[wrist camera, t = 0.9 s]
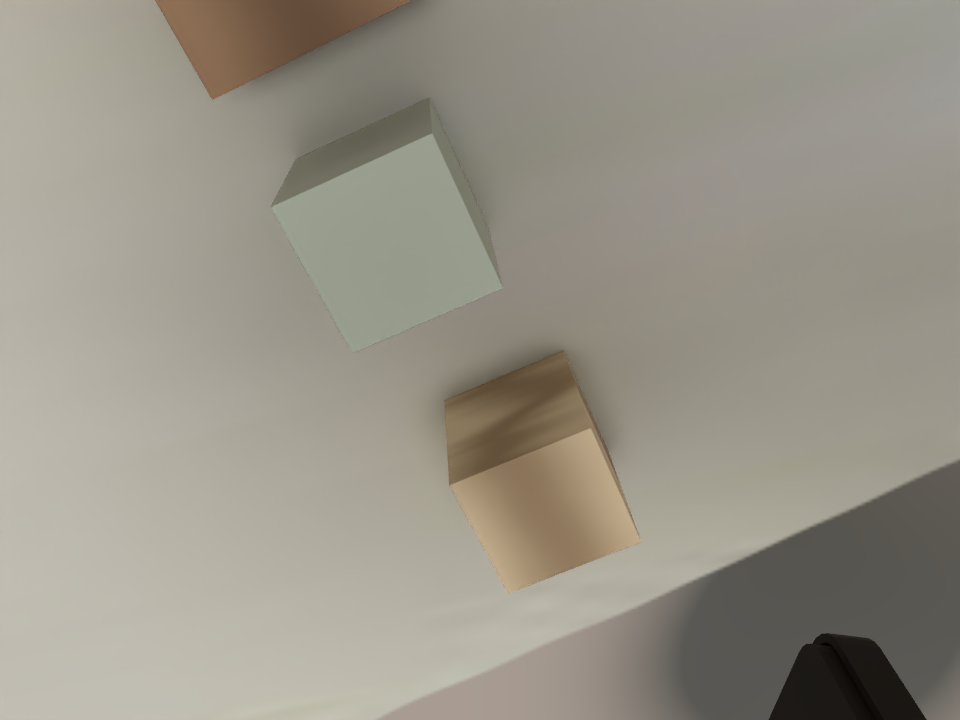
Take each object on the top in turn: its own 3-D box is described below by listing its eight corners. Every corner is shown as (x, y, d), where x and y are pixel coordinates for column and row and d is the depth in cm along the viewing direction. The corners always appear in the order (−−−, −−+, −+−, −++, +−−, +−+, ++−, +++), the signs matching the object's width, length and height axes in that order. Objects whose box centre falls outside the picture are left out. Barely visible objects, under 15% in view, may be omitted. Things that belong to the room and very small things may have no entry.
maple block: (563, 350, 35) (590, 428, 29) (608, 451, 37) (641, 542, 31) (444, 400, 35) (449, 485, 30) (494, 496, 37) (508, 593, 32)
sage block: (429, 97, 30) (432, 133, 25) (488, 228, 32) (502, 288, 27) (295, 159, 31) (270, 207, 25) (362, 284, 33) (351, 353, 28)
